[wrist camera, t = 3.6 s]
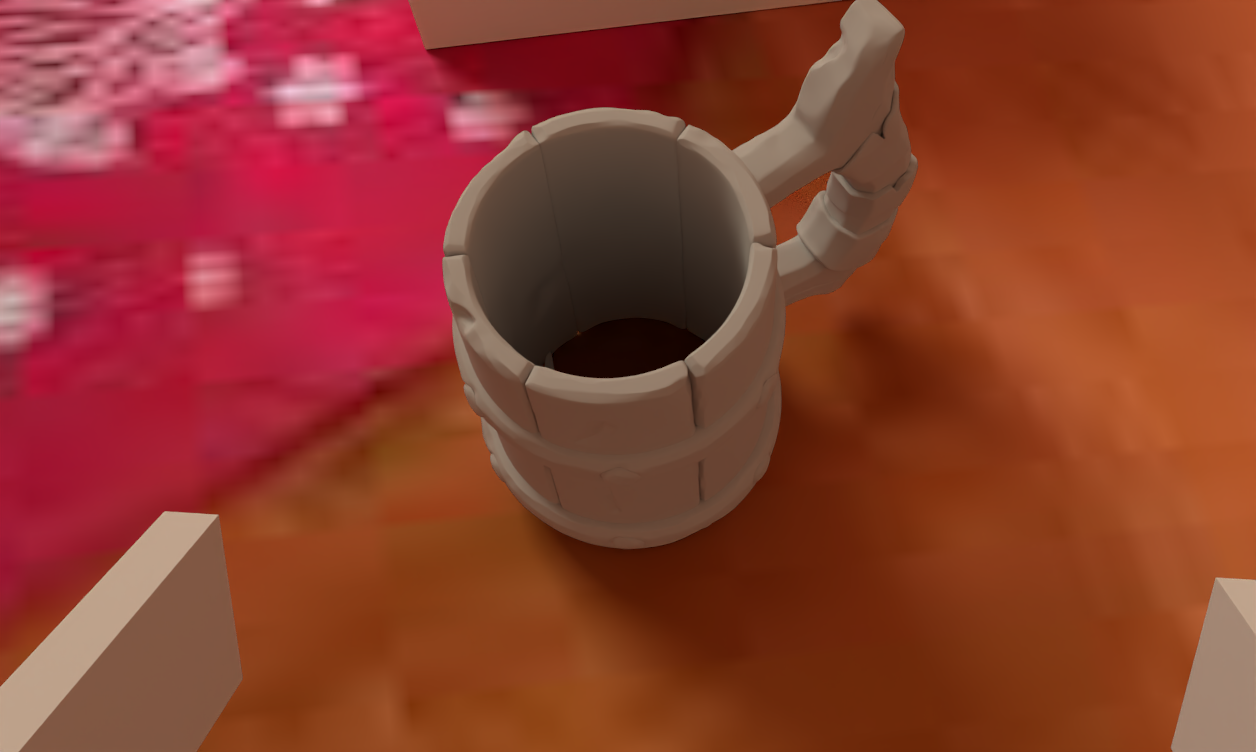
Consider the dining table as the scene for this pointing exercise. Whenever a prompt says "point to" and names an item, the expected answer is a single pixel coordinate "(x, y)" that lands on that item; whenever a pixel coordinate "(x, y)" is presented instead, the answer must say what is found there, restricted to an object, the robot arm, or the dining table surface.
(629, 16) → the stand
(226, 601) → the robot arm
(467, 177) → the dining table surface
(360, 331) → the dining table surface
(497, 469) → the mug
